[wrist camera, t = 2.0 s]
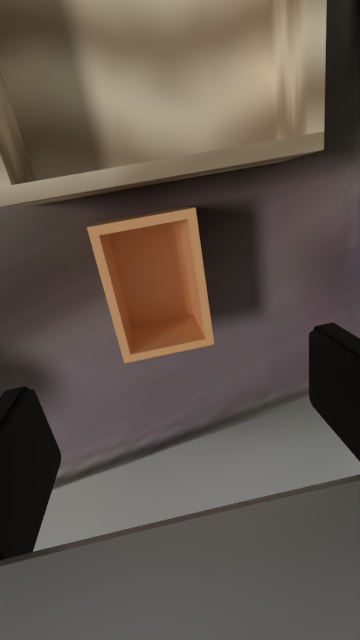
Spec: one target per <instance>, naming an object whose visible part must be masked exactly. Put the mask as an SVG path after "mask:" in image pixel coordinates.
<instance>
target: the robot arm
mask: <svg viewBox="0 0 360 640" xmlns="http://www.w3.org/2000/svg"><path fill="white" fill-rule="evenodd" d="M309 398H310V401H311V404H312V406H313V407H314V408H315V409H316V411H317V412H318V413H319V414H320V415H321V417H322V418H323V419H324V420H325V421H326V422H327V424H328V425H329V426H330V427H331V428H332V429H333V430H334V432H335V433H336V434H337V435H338V436H339V437H340V439H341V440H342V441H343V442H344V443H345V445H346V446H347V447H348V448H349V449H350V450H351V452H352V453H353V454H354V455H355V456H356V458H357V459H358V460H359V461H360V339H359V338H358V337H356V336H355V335H353V334H351V333H350V332H348V331H346V330H345V329H343V328H341V327H340V326H338V325H337V324H335V323H328V324H323V325H318V326H315V327H314V329H313V331H311V332H310V334H309ZM60 462H61V453H60V450H59V447H58V445H57V443H56V440H55V438H54V436H53V433H52V431H51V428H50V426H49V424H48V421H47V419H46V417H45V414H44V412H43V409H42V407H41V405H40V402H39V400H38V398H37V395H36V393H35V391H34V390H29V389H28V388H27V387H20V388H15V389H10V390H6V391H5V392H4V393H3V395H2V396H1V397H0V640H360V475H356V476H351V477H347V478H342V479H338V480H334V481H329V482H325V483H321V484H316V485H312V486H307V487H303V488H299V489H294V490H290V491H286V492H281V493H277V494H273V495H268V496H264V497H260V498H256V499H252V500H248V501H243V502H239V503H234V504H230V505H226V506H222V507H217V508H213V509H209V510H205V511H201V512H197V513H192V514H188V515H184V516H180V517H175V518H171V519H168V520H163V521H158V522H155V523H150V524H146V525H142V526H138V527H133V528H130V529H125V530H121V531H117V532H113V533H109V534H105V535H100V536H96V537H92V538H89V539H84V540H80V541H76V542H72V543H68V544H63V545H59V546H55V547H51V548H47V549H43V550H39V551H35V552H33V549H34V546H35V543H36V540H37V536H38V533H39V530H40V527H41V523H42V520H43V517H44V514H45V511H46V508H47V504H48V501H49V498H50V495H51V492H52V488H53V485H54V482H55V479H56V476H57V472H58V469H59V466H60Z"/></svg>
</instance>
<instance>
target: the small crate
mask: <svg viewBox="0 0 360 640" xmlns="http://www.w3.org/2000/svg"><path fill="white" fill-rule="evenodd" d="M87 229H88V233H89V237H90V240H91V244H92V248H93V251H94V255H95V258H96V262H97V266H98V269H99V273H100V277H101V280H102V284H103V287H104V291H105V295H106V298H107V302H108V306H109V309H110V313H111V316H112V320H113V324H114V327H115V331H116V335H117V338H118V342H119V346H120V349H121V353H122V356H123V360H124V363H128V362H133V361H138V360H142V359H147V358H152V357H157V356H161V355H166V354H171V353H175V352H180V351H185V350H190V349H194V348H199V347H204V346H209V345H213V344H214V339H213V332H212V324H211V317H210V310H209V303H208V295H207V288H206V281H205V273H204V266H203V259H202V251H201V244H200V237H199V229H198V222H197V215H196V208H194V207H184V206H182V207H177V208H172V209H166V210H161V211H155V212H150V213H144V214H139V215H133V216H128V217H122V218H117V219H111V220H106V221H100V222H97V223H95V224H93V225H91V226H89V227H87Z"/></svg>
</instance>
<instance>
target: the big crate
mask: <svg viewBox="0 0 360 640" xmlns="http://www.w3.org/2000/svg"><path fill="white" fill-rule="evenodd" d="M326 7H327V0H0V206H1V207H3V206H34V205H40V204H46V203H51V202H57V201H63V200H68V199H74V198H80V197H85V196H91V195H97V194H102V193H108V192H114V191H119V190H125V189H131V188H136V187H142V186H147V185H153V184H159V183H164V182H170V181H176V180H181V179H187V178H193V177H198V176H204V175H210V174H215V173H221V172H227V171H232V170H238V169H244V168H249V167H255V166H261V165H266V164H272V163H278V162H283V161H286V160H290V159H293V158H297V157H300V156H304V155H307V154H311V153H314V152H318V151H321V150H324V115H325V61H326Z"/></svg>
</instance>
